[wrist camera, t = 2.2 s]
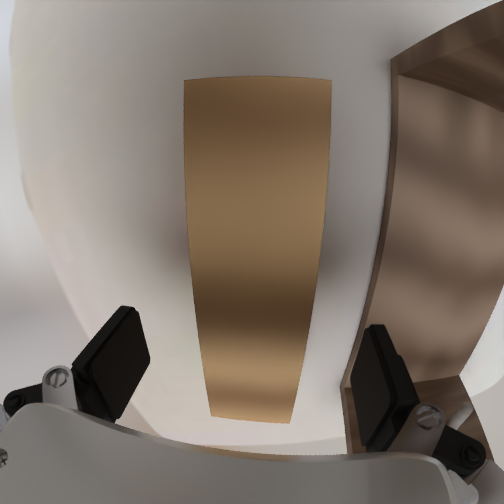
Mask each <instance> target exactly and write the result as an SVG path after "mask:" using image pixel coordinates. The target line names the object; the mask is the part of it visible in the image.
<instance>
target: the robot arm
mask: <svg viewBox="0 0 504 504" xmlns="http://www.w3.org/2000/svg"><path fill="white" fill-rule="evenodd" d="M149 364H150V355H149V351H148V348H147V344H146V340H145V336H144V332H143V328H142V324H141V320H140V316H139V312H138V311H136V309H135V308H134V307H129V306H120V307H119V308H118V310H117V311H116V312H115V313H114V314H113V315H112V316H111V318H110V319H109V320H108V321H107V322H106V323H105V324H104V326H103V327H102V328H101V329H100V330H99V331H98V333H97V334H96V335H95V336H94V337H93V339H92V340H91V341H90V342H89V343H88V345H87V346H86V347H85V348H84V349H83V351H82V352H81V353H80V355H78V357H77V358H76V359H75V361H74V362H73V363H72V366H73V367H72V368H71V369H69V368H68V367H66V366H61V365H60V366H55V367H52V368H50V369H49V370H48V371H46V373H45V374H44V376H43V379H42V383H41V384H37V385H33V386H29V387H26V388H22V389H18V390H14V391H12V392H10V393H9V394H8V395H7V396H6V397H5V400H4V403H3V406H2V405H1V404H0V504H504V471H503V470H502V469H501V468H499V466H498V465H497V464H495V462H493V461H492V460H491V459H490V460H489V461H488V460H486V450H485V447H484V446H483V444H482V443H481V442H479V441H478V440H476V439H474V438H471V437H469V436H467V435H465V434H463V433H461V432H459V431H457V430H455V429H454V428H452V427H450V426H448V425H446V424H445V423H446V416H445V413H444V411H443V410H442V409H441V408H440V407H439V406H437V405H436V404H433V403H430V402H424V403H421V402H420V400H419V397H418V394H417V392H416V389H415V387H414V384H413V382H412V379H411V377H410V374H409V372H408V370H407V367H406V365H405V362H404V360H403V358H402V356H401V355H398V354H397V351H396V349H395V347H394V345H393V342H392V340H391V338H390V336H389V333H388V331H387V329H386V327H385V325H384V324H371V325H370V326H369V328H365V330H364V333H363V336H362V340H361V343H360V347H359V350H358V353H357V356H356V359H355V362H354V366H353V369H352V371H351V375H350V384H351V389H352V394H353V399H354V404H355V410H356V416H357V421H358V427H359V434H360V440H361V445H362V446H365V447H366V453H356V454H340V455H275V454H260V453H248V452H239V451H230V450H223V449H216V448H210V447H204V446H199V445H193V444H188V443H184V442H179V441H174V440H170V439H166V438H162V437H158V436H154V435H150V434H147V433H143V432H140V431H136V430H133V429H130V428H127V427H124V426H121V425H118V424H115V421H116V419H119V418H120V417H121V415H122V413H123V412H124V410H125V408H126V406H127V404H128V402H129V400H130V399H131V397H132V395H133V393H134V391H135V389H136V387H137V386H138V384H139V382H140V380H141V378H142V377H143V375H144V373H145V371H146V369H147V367H148V366H149Z"/></svg>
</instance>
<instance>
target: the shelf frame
mask: <svg viewBox="0 0 504 504" xmlns="http://www.w3.org/2000/svg"><path fill="white" fill-rule="evenodd" d="M391 75H392V123H391V144H390V159H389V170H388V180H387V189H386V198H385V205H384V213H383V219H382V226H381V232H380V238H379V243H378V249H377V254H376V259H375V264H374V269H373V274H372V278H371V283H370V287H369V291H368V295H367V299H366V303H365V307H364V311H363V315H362V319H361V322H360V326H359V329H358V333H357V336H356V340H355V343H354V346H353V350H352V353H351V356H350V359H349V362H348V365H347V368H346V371H345V374H344V377H343V380H342V382H341V385H340V393H341V400H342V408H343V416H344V425H345V434H346V444H347V454H356V453H366V447H365V446H362V445H361V440H360V434H359V427H358V421H357V416H356V410H355V404H354V399H353V394H352V389H351V384H350V375H351V371H352V369H353V366H354V362H355V359H356V356H357V353H358V350H359V347H360V343H361V340H362V336H363V333H364V330H365V328H369V326H370V325H371V324H384V325H385V327H386V329H387V331H388V333H389V336H390V338H391V340H392V342H393V345H394V347H395V349H396V351H397V354H398V355H401V356H402V358H403V360H404V362H405V365H406V367H407V370H408V372H409V374H410V377H411V379H412V382H413V384H414V387H415V389H416V392H417V394H418V397H419V400H420V402H421V403H424V402H430V403H433V404H436V405H437V406H439V407H440V408H441V409H442V410H443V411H444V413H445V416H446V423H445V424H446V425H448V426H450V427H452V428H454V429H455V430H457V431H459V432H461V433H463V434H465V435H467V436H469V437H471V438H474V439H476V440H478V441H479V442H481V443H482V444H483V446H484V447H485V450H486V460H488V461H489V460H490V459H491V460H492V461H493V462H494V459H493V456H492V453H491V450H490V447H489V444H488V442H487V439H486V436H485V433H484V431H483V428H482V426H481V423H480V421H479V418H478V416H477V413H476V411H475V409H474V406H473V404H472V402H471V400H470V398H469V395H468V393H467V391H466V389H465V387H464V385H463V383H462V381H461V379H460V377H459V374H460V373H461V371H462V369H463V368H464V366H465V364H466V363H467V361H468V359H469V357H470V356H471V354H472V352H473V350H474V348H475V347H476V345H477V343H478V341H479V339H480V337H481V335H482V333H483V331H484V329H485V327H486V325H487V323H488V321H489V319H490V316H491V314H492V312H493V310H494V307H495V305H496V303H497V300H498V298H499V295H500V293H501V290H502V288H503V285H504V0H502V1H500V2H498V3H495V4H493V5H491V6H488V7H486V8H484V9H482V10H479V11H477V12H475V13H473V14H471V15H469V16H467V17H465V18H463V19H461V20H459V21H457V22H455V23H453V24H451V25H449V26H447V27H445V28H443V29H442V30H440V31H438V32H436V33H434V34H432V35H431V36H429V37H427V38H425V39H424V40H422V41H420V42H418V43H417V44H415V45H413V46H412V47H410V48H408V49H407V50H405V51H403V52H402V53H400V54H398V55H397V56H395V57H394V58H392V59H391Z"/></svg>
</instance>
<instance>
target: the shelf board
mask: <svg viewBox="0 0 504 504" xmlns="http://www.w3.org/2000/svg"><path fill="white" fill-rule="evenodd" d="M331 83H332V80H324V79H313V78H300V77H281V76H235V77H215V78H202V79H192V80H184V168H185V193H186V212H187V227H188V241H189V254H190V265H191V276H192V286H193V295H194V304H195V313H196V321H197V329H198V337H199V344H200V351H201V358H202V365H203V371H204V377H205V384H206V390H207V395H208V401H209V407H210V412H211V416H214V417H221V418H228V419H236V420H246V421H256V422H269V423H289V424H290V420H291V416H292V412H293V407H294V403H295V399H296V394H297V390H298V385H299V380H300V375H301V371H302V366H303V360H304V355H305V350H306V345H307V339H308V334H309V328H310V322H311V316H312V310H313V303H314V297H315V290H316V283H317V276H318V269H319V261H320V253H321V244H322V236H323V226H324V217H325V206H326V195H327V182H328V168H329V151H330V130H331Z"/></svg>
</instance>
